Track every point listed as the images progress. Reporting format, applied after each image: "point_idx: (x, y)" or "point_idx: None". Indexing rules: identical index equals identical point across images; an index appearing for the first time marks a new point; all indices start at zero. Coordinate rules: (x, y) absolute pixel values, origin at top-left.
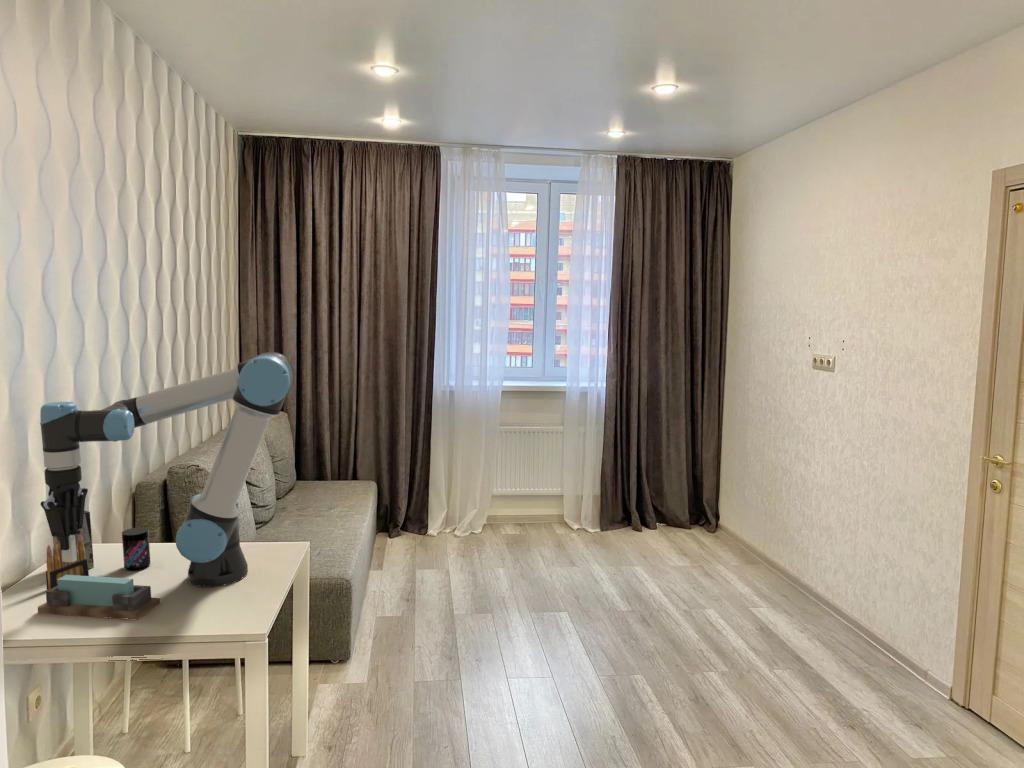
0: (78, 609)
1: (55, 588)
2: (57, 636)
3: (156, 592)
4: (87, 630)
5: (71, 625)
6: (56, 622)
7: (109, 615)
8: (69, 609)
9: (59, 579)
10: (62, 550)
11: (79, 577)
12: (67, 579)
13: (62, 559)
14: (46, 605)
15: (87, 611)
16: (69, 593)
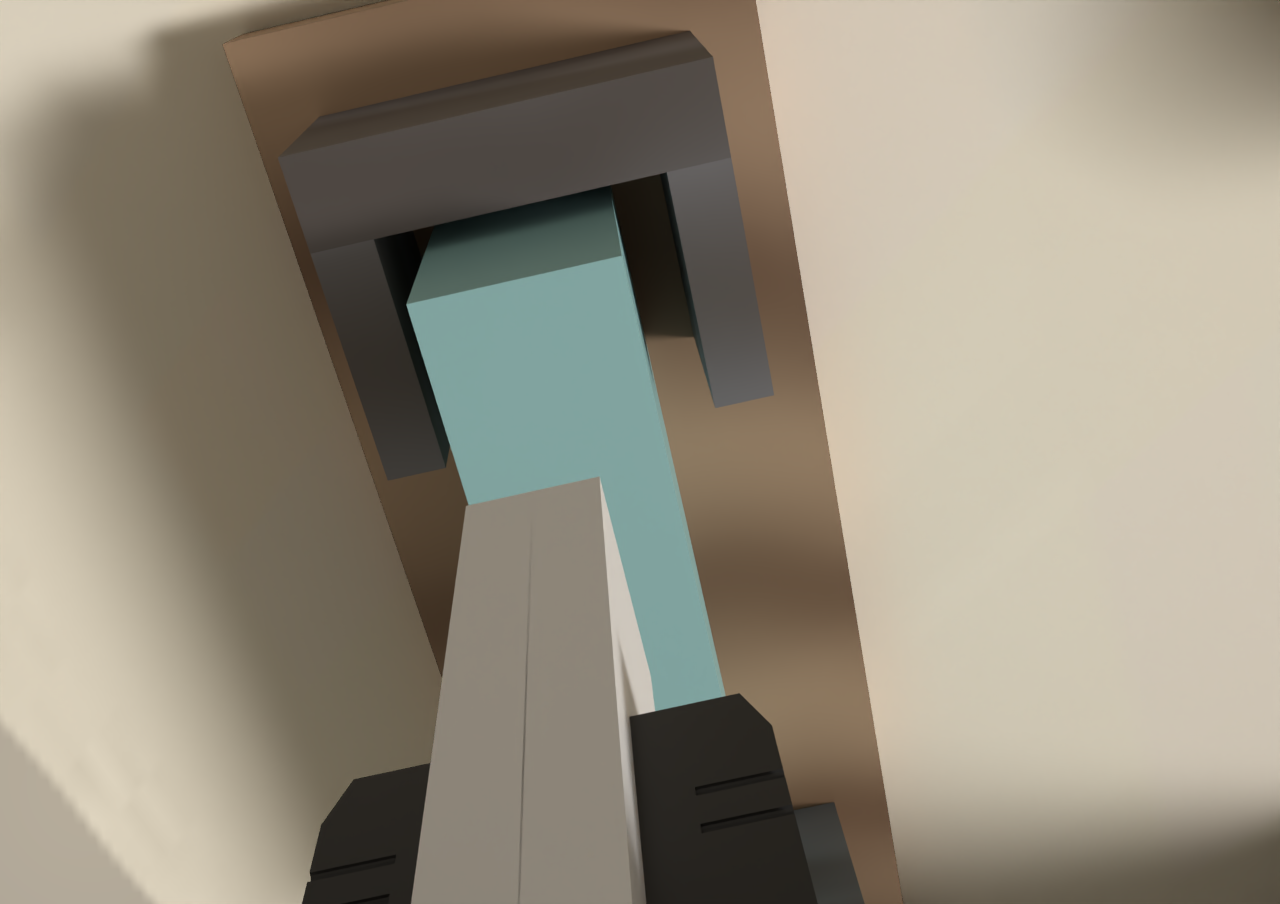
0: (416, 569)
1: (428, 187)
2: (23, 731)
3: (1125, 754)
4: (244, 849)
5: (236, 654)
6: (200, 468)
7: None
8: (374, 477)
9: (423, 339)
10: (454, 678)
11: None
12: (479, 458)
13: (463, 536)
14: (316, 109)
15: (442, 662)
16: (446, 454)
